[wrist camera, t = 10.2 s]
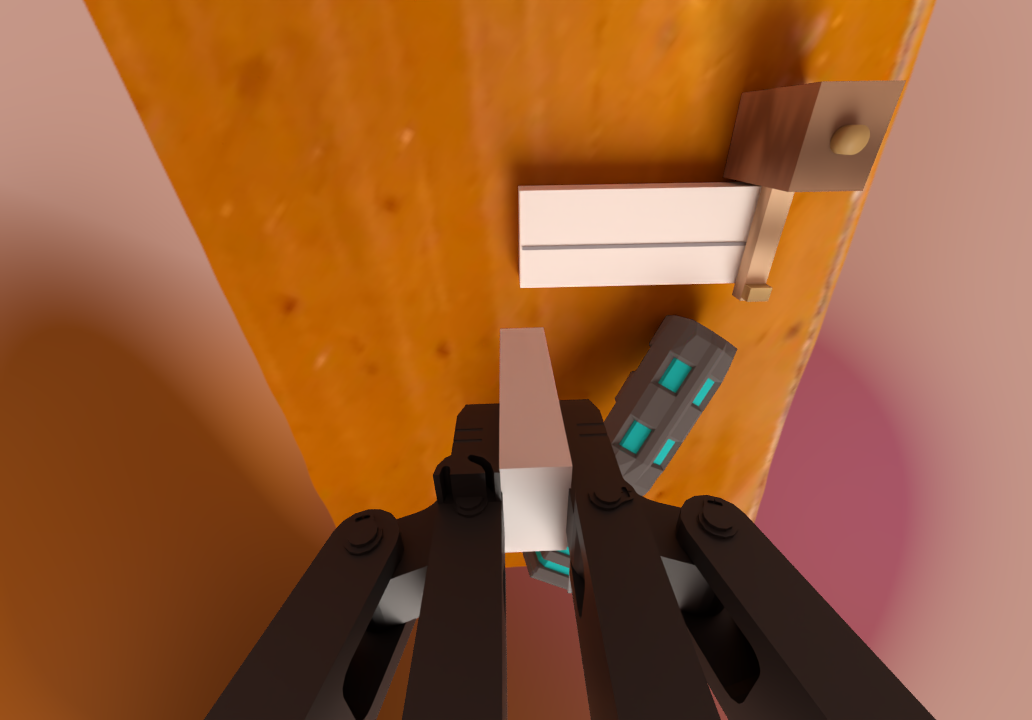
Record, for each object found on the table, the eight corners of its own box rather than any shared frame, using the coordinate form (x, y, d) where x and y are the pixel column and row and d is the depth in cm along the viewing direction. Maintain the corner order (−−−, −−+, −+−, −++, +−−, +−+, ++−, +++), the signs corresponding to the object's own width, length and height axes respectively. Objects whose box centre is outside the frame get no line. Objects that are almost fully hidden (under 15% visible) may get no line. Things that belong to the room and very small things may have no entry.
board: (518, 185, 34) (519, 190, 31) (773, 181, 34) (796, 185, 32) (519, 276, 38) (520, 288, 35) (747, 271, 38) (765, 282, 36)
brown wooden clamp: (742, 92, 31) (834, 79, 22) (805, 91, 31) (921, 78, 23) (699, 282, 39) (755, 327, 30) (749, 281, 39) (820, 325, 30)
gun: (500, 498, 51) (526, 593, 37) (622, 297, 48) (703, 315, 33) (542, 515, 53) (583, 611, 39) (662, 323, 50) (755, 351, 35)
